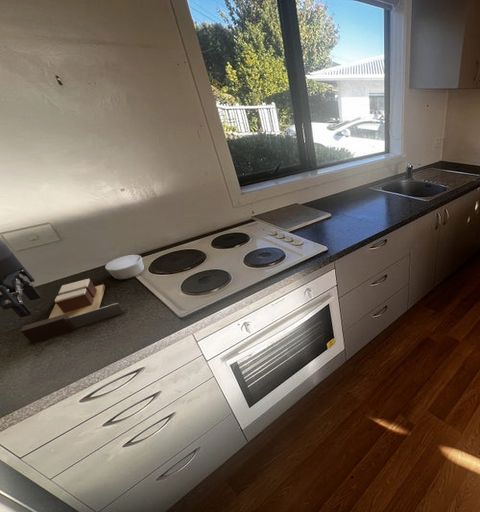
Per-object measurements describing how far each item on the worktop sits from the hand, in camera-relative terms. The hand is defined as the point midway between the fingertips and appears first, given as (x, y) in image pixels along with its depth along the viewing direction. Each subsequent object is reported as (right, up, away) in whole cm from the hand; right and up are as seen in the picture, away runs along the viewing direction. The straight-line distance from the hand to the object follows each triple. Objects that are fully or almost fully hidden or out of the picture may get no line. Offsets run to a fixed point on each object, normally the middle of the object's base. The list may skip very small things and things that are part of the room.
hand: (31, 306), depth 81 cm
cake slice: (-2, -2, +15) cm, 15 cm away
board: (-4, -3, +16) cm, 17 cm away
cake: (-5, 0, +19) cm, 19 cm away
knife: (+5, -7, +8) cm, 12 cm away
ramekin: (-2, +7, +33) cm, 34 cm away
